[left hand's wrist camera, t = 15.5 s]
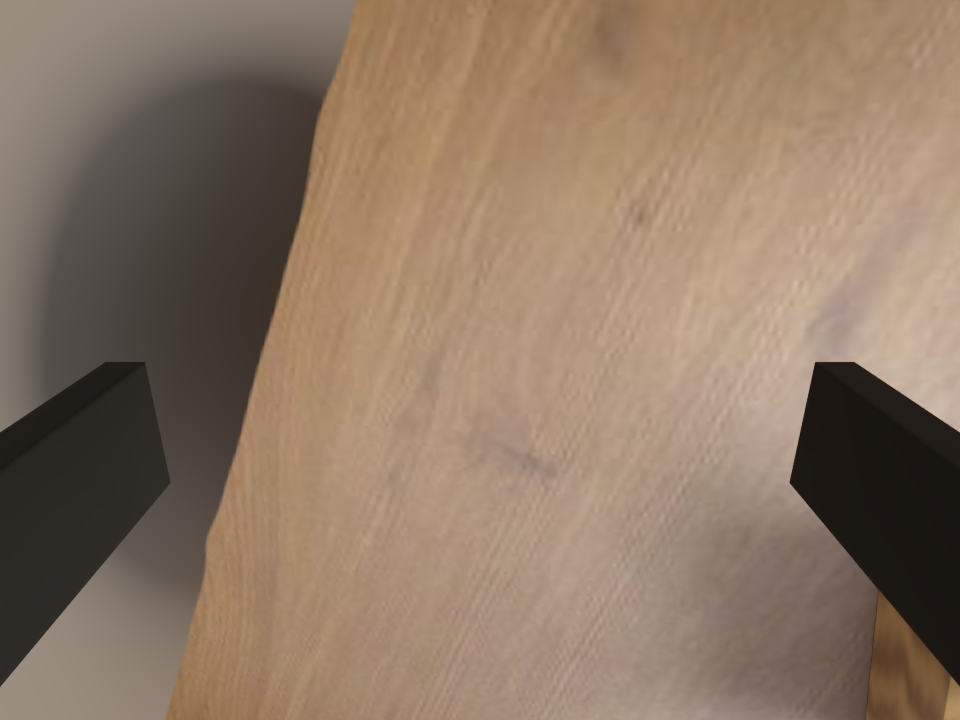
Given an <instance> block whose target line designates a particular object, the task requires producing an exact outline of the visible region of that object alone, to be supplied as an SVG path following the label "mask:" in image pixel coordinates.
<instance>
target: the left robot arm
mask: <svg viewBox="0 0 960 720" xmlns="http://www.w3.org/2000/svg"><path fill="white" fill-rule="evenodd" d="M169 484H170V478H169V474H168V469H167V464H166V460H165V455H164V450H163V446H162V441H161V436H160V432H159V427H158V422H157V417H156V413H155V408H154V403H153V399H152V394H151V389H150V384H149V380H148V375H147V370H146V366H145V362H105V363H104V364H102V365H101V366H99V367H98V368H96V369H95V370H93V371H92V372H90V373H89V374H87V375H86V376H84V377H83V378H81V379H80V380H78V381H77V382H75V383H74V384H72V385H71V386H69V387H68V388H66V389H65V390H63V391H62V392H60V393H59V394H57V395H56V396H54V397H53V398H51V399H50V400H48V401H47V402H45V403H44V404H42V405H41V406H39V407H38V408H36V409H35V410H33V411H32V412H30V413H29V414H27V415H26V416H24V417H23V418H21V419H20V420H18V421H17V422H15V423H14V424H12V425H11V426H9V427H8V428H6V429H5V430H3V431H2V432H0V686H1V685H2V684H3V683H4V682H5V680H6V679H7V678H8V677H9V676H10V674H11V673H12V672H13V671H14V670H15V668H16V667H17V666H18V665H19V664H20V662H21V661H22V660H23V659H24V658H25V656H26V655H27V654H28V653H29V652H30V650H31V649H32V648H33V647H34V646H35V644H36V643H37V642H38V641H39V640H40V638H41V637H42V636H43V635H44V634H45V633H46V631H47V630H48V629H49V628H50V626H51V625H52V624H53V623H54V622H55V621H56V619H57V618H58V617H59V616H60V615H61V613H62V612H63V611H64V610H65V609H66V607H67V606H68V605H69V604H70V603H71V601H72V600H73V599H74V598H75V597H76V595H77V594H78V593H79V592H80V591H81V589H82V588H83V587H84V586H85V585H86V583H87V582H88V581H89V580H90V579H91V577H92V576H93V575H94V574H95V573H96V571H97V570H98V569H99V568H100V567H101V565H102V564H103V563H104V562H105V561H106V559H107V558H108V557H109V556H110V555H111V553H112V552H113V551H114V550H115V549H116V547H117V546H118V545H119V544H120V543H121V541H122V540H123V539H124V538H125V537H126V535H127V534H128V533H129V532H130V531H131V529H132V528H133V527H134V526H135V525H136V523H137V522H138V521H139V520H140V519H141V517H142V516H143V515H144V514H145V513H146V511H147V510H148V509H149V508H150V507H151V505H152V504H153V503H154V502H155V501H156V499H157V498H158V497H159V496H160V495H161V493H162V492H163V491H164V490H165V489H166V488H167V486H168V485H169ZM790 484H791V485H792V486H793V488H794V489H795V490H796V491H797V492H798V494H799V495H800V496H801V497H802V498H803V499H804V501H805V502H806V503H807V504H808V505H809V507H810V508H811V509H812V510H813V511H814V513H815V514H816V515H817V516H818V517H819V519H820V520H821V521H822V522H823V523H824V525H825V526H826V527H827V528H828V529H829V531H830V532H831V533H832V534H833V535H834V537H835V538H836V539H837V540H838V541H839V543H840V544H841V545H842V546H843V547H844V549H845V550H846V551H847V552H848V553H849V555H850V556H851V557H852V558H853V559H854V561H855V562H856V563H857V564H858V565H859V567H860V568H861V569H862V570H863V571H864V573H865V574H866V575H867V576H868V577H869V579H870V580H871V581H872V582H873V583H874V585H875V586H876V587H877V588H878V589H879V591H880V592H881V593H882V594H883V595H884V597H885V598H886V599H887V600H888V601H889V603H890V604H891V605H892V606H893V607H894V609H895V610H896V611H897V612H898V613H899V615H900V616H901V617H902V618H903V619H904V621H905V622H906V623H907V624H908V625H909V627H910V628H911V629H912V630H913V631H914V633H915V634H916V635H917V636H918V637H919V639H920V640H921V641H922V642H923V643H924V645H925V646H926V647H927V648H928V649H929V650H930V652H931V653H932V654H933V655H934V656H935V658H936V659H937V660H938V661H939V662H940V664H941V665H942V666H943V667H944V668H945V670H946V671H947V672H948V673H949V674H950V676H951V677H952V678H953V679H954V680H955V682H956V683H957V684H958V685H959V686H960V432H958V431H957V430H955V429H954V428H952V427H951V426H949V425H948V424H946V423H945V422H943V421H942V420H940V419H939V418H937V417H936V416H934V415H933V414H931V413H930V412H928V411H927V410H925V409H924V408H922V407H921V406H919V405H918V404H916V403H915V402H913V401H912V400H910V399H909V398H907V397H906V396H904V395H903V394H901V393H900V392H898V391H897V390H895V389H894V388H892V387H891V386H889V385H888V384H886V383H885V382H883V381H882V380H880V379H879V378H877V377H876V376H874V375H873V374H871V373H870V372H868V371H867V370H865V369H864V368H862V367H861V366H859V365H858V364H857V363H855V362H815V366H814V370H813V375H812V380H811V384H810V389H809V394H808V398H807V403H806V408H805V413H804V417H803V422H802V427H801V431H800V436H799V441H798V446H797V450H796V455H795V460H794V464H793V469H792V474H791V478H790Z"/></svg>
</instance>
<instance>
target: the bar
mask: <svg viewBox="0 0 960 720" xmlns="http://www.w3.org/2000/svg"><path fill="white" fill-rule="evenodd" d="M866 720H960V686H959V685H958V684H957V683H956V682H955V680H954V679H953V678H952V677H951V676H950V674H949V673H948V672H947V671H946V670H945V668H944V667H943V666H942V665H941V664H940V662H939V661H938V660H937V659H936V658H935V656H934V655H933V654H932V653H931V652H930V650H929V649H928V648H927V647H926V646H925V645H924V643H923V642H922V641H921V640H920V639H919V637H918V636H917V635H916V634H915V633H914V631H913V630H912V629H911V628H910V627H909V625H908V624H907V623H906V622H905V621H904V619H903V618H902V617H901V616H900V615H899V613H898V612H897V611H896V610H895V609H894V607H893V606H892V605H891V604H890V603H889V601H888V600H887V599H886V598H885V597H884V595H883V594H882V593H881V592H880V591H879V593H878V603H877V613H876V623H875V632H874V642H873V652H872V662H871V671H870V681H869V691H868V701H867V710H866Z"/></svg>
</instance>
